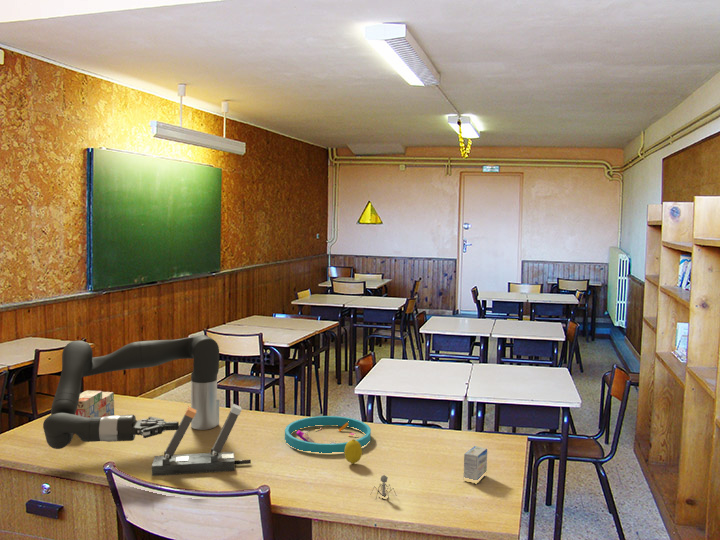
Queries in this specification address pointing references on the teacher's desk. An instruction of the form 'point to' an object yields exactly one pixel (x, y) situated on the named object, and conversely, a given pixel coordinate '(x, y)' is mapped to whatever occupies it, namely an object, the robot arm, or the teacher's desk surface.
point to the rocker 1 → (180, 432)
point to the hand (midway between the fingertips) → (178, 425)
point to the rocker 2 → (226, 429)
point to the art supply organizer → (320, 420)
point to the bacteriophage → (383, 486)
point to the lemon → (353, 451)
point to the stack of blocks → (95, 404)
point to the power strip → (195, 463)
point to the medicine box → (475, 463)
